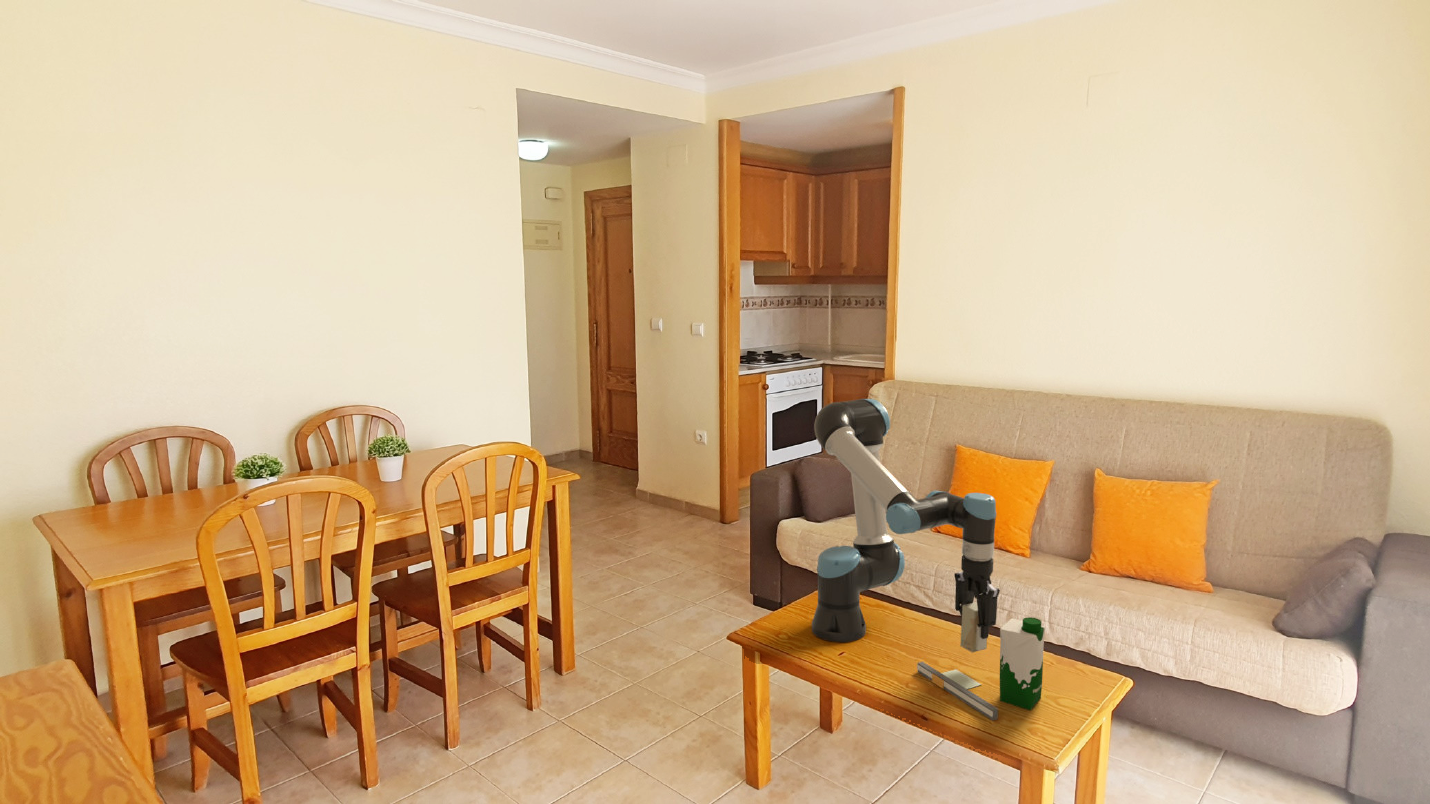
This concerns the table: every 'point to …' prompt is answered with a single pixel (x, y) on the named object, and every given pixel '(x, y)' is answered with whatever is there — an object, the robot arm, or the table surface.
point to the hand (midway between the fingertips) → (973, 644)
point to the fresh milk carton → (1021, 662)
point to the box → (969, 626)
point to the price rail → (958, 691)
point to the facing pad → (961, 679)
